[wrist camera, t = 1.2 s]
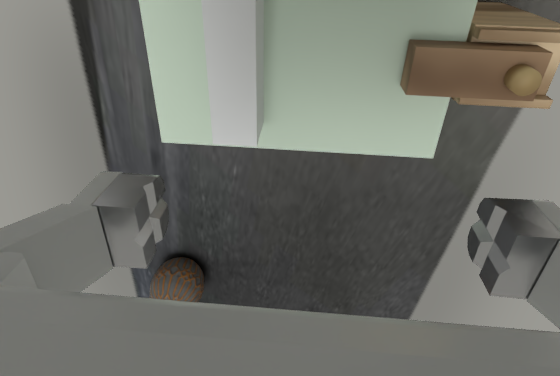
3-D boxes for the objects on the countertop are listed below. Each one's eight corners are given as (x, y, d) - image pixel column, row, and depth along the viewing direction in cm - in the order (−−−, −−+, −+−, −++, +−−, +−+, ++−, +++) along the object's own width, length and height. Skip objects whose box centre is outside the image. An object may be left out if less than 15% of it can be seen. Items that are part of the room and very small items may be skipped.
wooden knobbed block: (409, 39, 25) (420, 51, 22) (536, 44, 24) (564, 58, 22) (400, 84, 26) (409, 101, 24) (519, 90, 26) (542, 108, 23)
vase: (218, 276, 55) (203, 328, 48) (179, 289, 57) (160, 340, 50) (190, 243, 52) (170, 293, 44) (151, 258, 54) (125, 308, 47)
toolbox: (178, -70, 32) (114, -73, 22) (520, -60, 31) (622, -57, 20) (194, 92, 40) (153, 145, 30) (468, 106, 38) (523, 167, 28)
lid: (134, -76, 24) (94, -78, 19) (488, -65, 23) (529, -65, 18) (166, 135, 32) (143, 167, 27) (429, 151, 30) (447, 186, 26)
